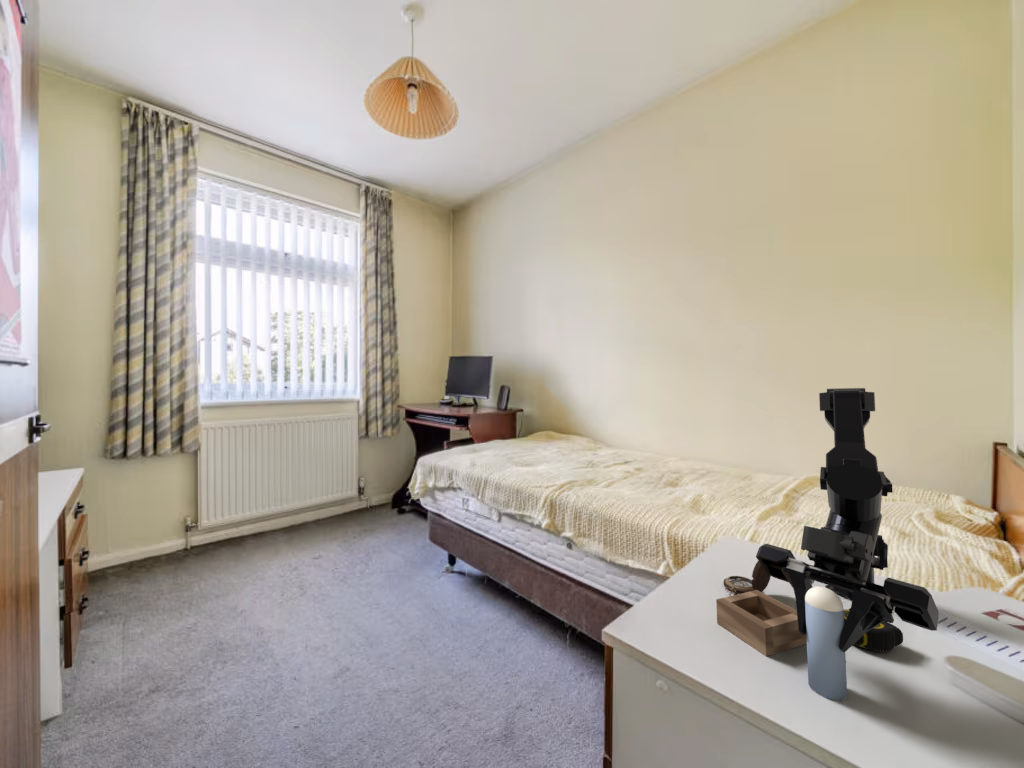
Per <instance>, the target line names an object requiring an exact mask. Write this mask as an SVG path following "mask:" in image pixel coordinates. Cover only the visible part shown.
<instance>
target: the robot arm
mask: <svg viewBox="0 0 1024 768" xmlns="http://www.w3.org/2000/svg"><path fill="white" fill-rule="evenodd" d="M818 395H819V397H818V398H819V401H818V402H819V411H820V412H824V420H825V422H826V423H827V425H828V426H829V427H830V429H832V431H833V432H834V433H833V436H834V441H833V442H834V443H833V444H834V447H833V448H831V449H830V450H829V451H828V452H826V454H825V466H820V473H819V486H820V490H821V491H826V493H827V504H828V507H829V508H830V510H829V514H828V515H827V516H828V517H827V520H826V523H825V526H822V527H820V528H817V527H813V526H807V525H804V526H803V532H802V538H801V546H800V549H801V550H802V551H806V552H807V555H806V556H807V558H808V560H809V561H812V562H813V565H811V564H808V563H806V562H805V561H801V560H799V559H797V558H796V557H795V556H794V554H793V552H792V551H791V550H790V549H787V548H784V547H780V546H776V545H773V544H769V543H764V544H763V545H760V546H759V548H758V549H757V552H756V555H755V558H756V560H757V562H758V561H759V562H760V563H761V565H762V566H763V568H764V569H765V571H766V572H767V573H768V574H769V575H770V576H771V577H772V578H774V579H778V580H780V581H783V582H785V583H788V584H789V585H790V586H791V587H792V589H793V593H794V599H795V605H796V606H795V607H796V610H797V618H798V628H799V632H800V633H801V634H802V635H805V633H806V612H805V595H806V593H807V591H808V590H809V589H811V588H813V587H814V586H813V584H814V583H815V582H818V583H820V584H824V585H825V586H824V587H825V588H828V589H830V590H832V591H833V592H835V593H836V594H837V595H838V596H839V595H840V596H842V597H845V598H847V599H849V600H851V605H850V608H849V609H850V611H849V614H848V617H847V619H846V622H845V625H844V628H843V630H842V633H841V637H840V642H839V649H840V650H841V651H842V652H845V653H846V652H847V651H848V650H849V649H851V647H852V646H853V645H855V644H854V643H855V642H857V641H858V640H859V639H860V638H861V637H862V636H863V635H864V634H865V633H866V632H868V631H869V630H871V629H872V628H874V627H875V626H877V625H879V624H880V623H882V622H883V621H885V622H888V623H890V624H893V623H894V622H895V618H894V617H893V613H894V612H895V613H896V615H897V616H898V617H899V618H900V620H901V621H902V622H904V623H908V624H911V625H913V626H917V627H919V628H922V629H926V630H929V631H931V632H932V631H933V632H935V631H937V630H938V624H939V618H940V617H939V609H938V607H937V605H936V602H935V599H934V598H933V595H932V594H931V593H930V592H929V590H928V589H927V588H926V587H924V586H921V585H917V584H913V583H909V582H906V581H903V580H899V579H895V578H892V577H886V578H885V579H884V582H883V585H880V584H877V583H875V569H879V570H881V571H884V569H887V568H889V566H888V565H889V564H888V553H889V546H888V544H887V543H886V542H885V541H884V539H883V535H880V534H879V530H880V528H881V523H882V518H883V516H882V513H881V510H882V497H888V494H889V493H891V494H893V484H892V481H891V480H890V479H889V478H887V476H886V475H885V472H884V471H881V470H880V471H879V468H878V460H877V456H876V455H875V454H873V453H872V452H871V451H870V450H868V449H867V448H866V439H865V427H867V425H868V424H869V422H870V419H871V412H876V398H875V392H873V391H866V387H853V388H852V387H850V388H848V387H847V388H846V387H845V388H840V387H839V388H826V392H819V393H818Z"/></svg>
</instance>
